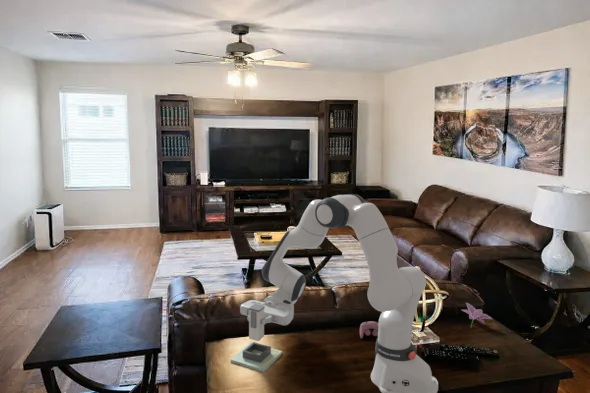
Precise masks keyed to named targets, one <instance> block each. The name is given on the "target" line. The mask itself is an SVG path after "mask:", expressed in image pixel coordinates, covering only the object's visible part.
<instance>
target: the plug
mask: <svg viewBox="0 0 590 393" xmlns="http://www.w3.org/2000/svg"><path fill="white" fill-rule="evenodd" d="M264 308H265V306H263V305H259V304H254V305H252V306H251V307H249V321H248V338H249V339H250V340H253V341H256V342H259V341H261V340H262V339H263V338H265V325H263V324H260V320H261V319H262V318H264Z"/></svg>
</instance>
